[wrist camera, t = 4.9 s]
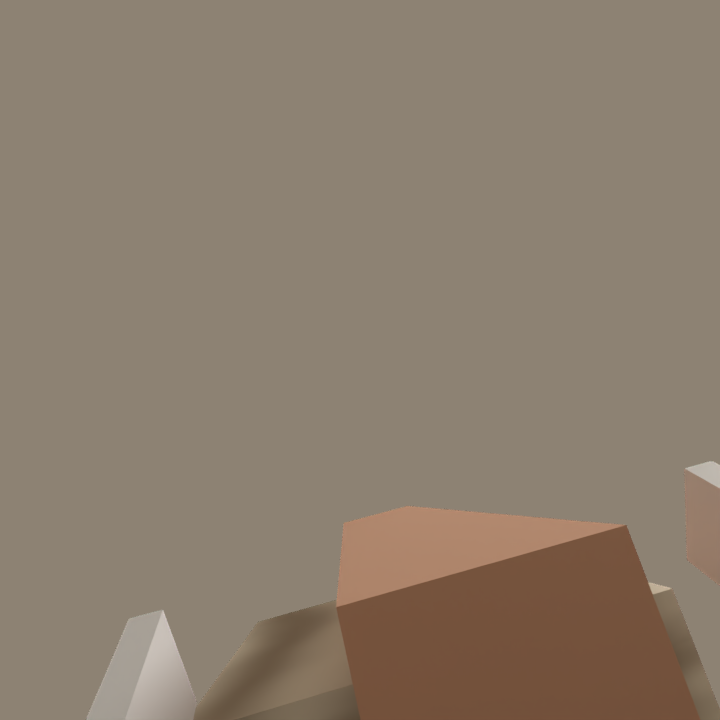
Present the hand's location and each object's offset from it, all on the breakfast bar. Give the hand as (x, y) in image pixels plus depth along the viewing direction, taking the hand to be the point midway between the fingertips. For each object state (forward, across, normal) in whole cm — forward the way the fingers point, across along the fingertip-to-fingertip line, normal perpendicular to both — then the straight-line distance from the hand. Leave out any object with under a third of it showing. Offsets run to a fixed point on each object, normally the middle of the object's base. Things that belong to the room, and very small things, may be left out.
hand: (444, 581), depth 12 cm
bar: (+4, 0, -5) cm, 7 cm away
